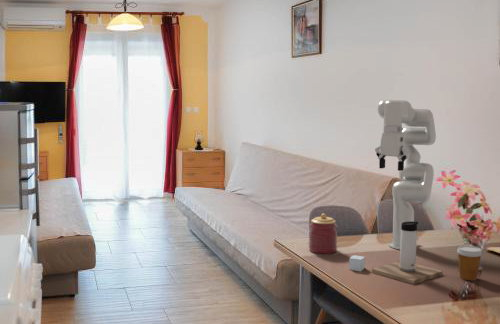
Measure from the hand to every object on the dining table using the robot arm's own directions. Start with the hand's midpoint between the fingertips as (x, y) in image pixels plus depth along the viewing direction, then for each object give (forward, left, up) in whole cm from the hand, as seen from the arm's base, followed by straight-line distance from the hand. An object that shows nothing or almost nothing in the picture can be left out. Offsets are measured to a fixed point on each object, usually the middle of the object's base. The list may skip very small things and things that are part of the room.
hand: (391, 169), depth 257 cm
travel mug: (+10, +17, -39) cm, 44 cm away
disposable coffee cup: (-4, +36, -40) cm, 54 cm away
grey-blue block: (+21, 0, -40) cm, 46 cm away
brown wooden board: (+10, +17, -40) cm, 45 cm away
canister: (+11, -29, -40) cm, 51 cm away
